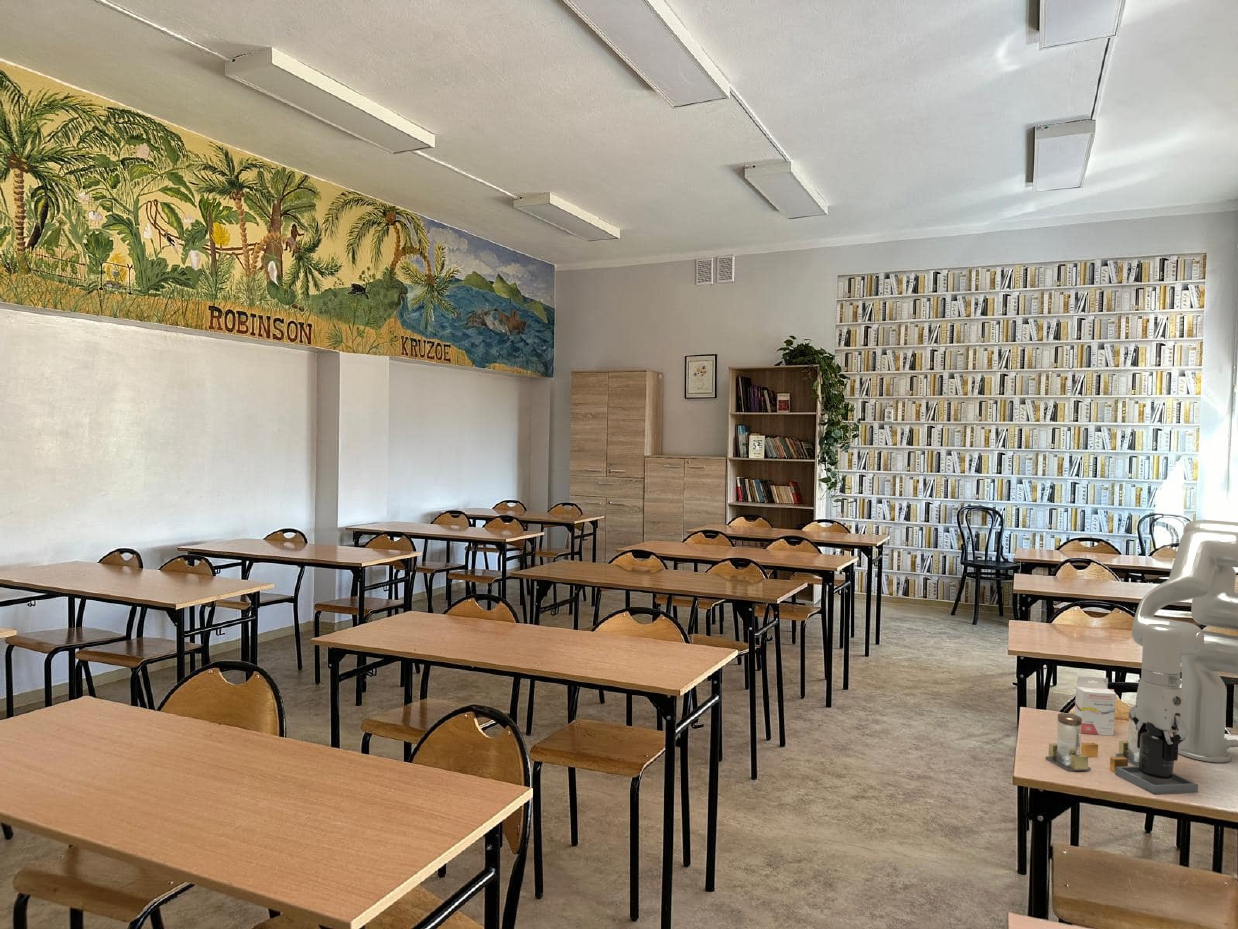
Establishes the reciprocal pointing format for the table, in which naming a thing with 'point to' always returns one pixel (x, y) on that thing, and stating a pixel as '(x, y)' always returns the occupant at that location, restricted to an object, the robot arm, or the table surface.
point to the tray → (1156, 781)
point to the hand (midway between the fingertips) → (1156, 753)
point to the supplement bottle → (1154, 754)
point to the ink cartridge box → (1095, 706)
